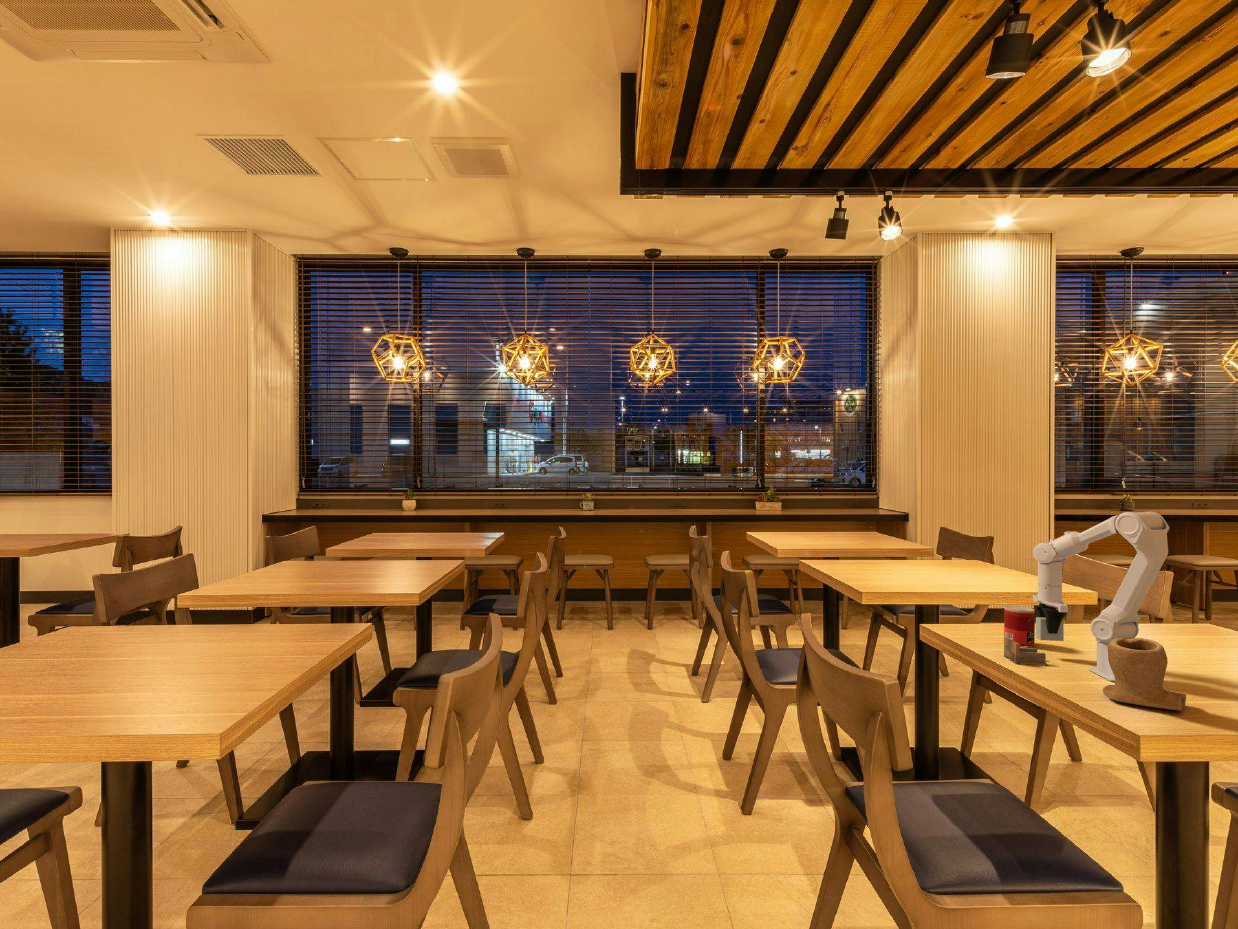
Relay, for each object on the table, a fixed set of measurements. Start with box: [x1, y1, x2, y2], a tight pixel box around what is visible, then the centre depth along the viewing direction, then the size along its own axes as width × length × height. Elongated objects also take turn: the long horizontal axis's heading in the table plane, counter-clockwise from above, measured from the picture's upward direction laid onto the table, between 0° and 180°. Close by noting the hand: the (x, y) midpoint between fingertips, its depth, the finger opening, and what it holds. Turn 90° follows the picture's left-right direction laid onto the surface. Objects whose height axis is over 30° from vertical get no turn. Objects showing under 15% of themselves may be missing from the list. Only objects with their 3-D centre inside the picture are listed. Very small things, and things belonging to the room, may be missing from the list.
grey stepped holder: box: [1003, 636, 1048, 666], centre depth 172 cm, size 7×8×6 cm
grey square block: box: [1035, 616, 1065, 642], centre depth 176 cm, size 2×6×6 cm, turn 81°
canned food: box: [1003, 605, 1036, 647], centre depth 189 cm, size 8×8×11 cm
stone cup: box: [1102, 637, 1187, 712], centre depth 140 cm, size 15×12×15 cm
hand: (1049, 632), depth 176 cm, fingers closed on grey square block, 2 cm apart
